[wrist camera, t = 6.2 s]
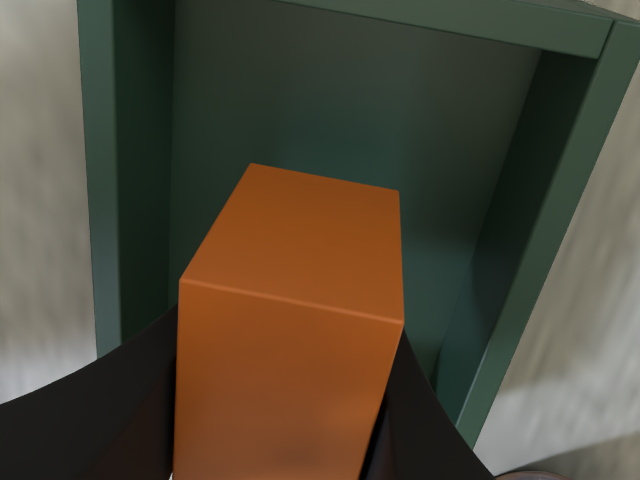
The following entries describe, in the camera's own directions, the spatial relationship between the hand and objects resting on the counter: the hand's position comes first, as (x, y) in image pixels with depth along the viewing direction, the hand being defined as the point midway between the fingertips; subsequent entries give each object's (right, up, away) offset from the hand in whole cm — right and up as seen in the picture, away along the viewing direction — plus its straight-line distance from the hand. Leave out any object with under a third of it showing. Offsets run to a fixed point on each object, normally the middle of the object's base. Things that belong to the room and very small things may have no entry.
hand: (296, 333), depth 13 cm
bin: (+1, +3, +5) cm, 6 cm away
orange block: (0, +1, +1) cm, 1 cm away
